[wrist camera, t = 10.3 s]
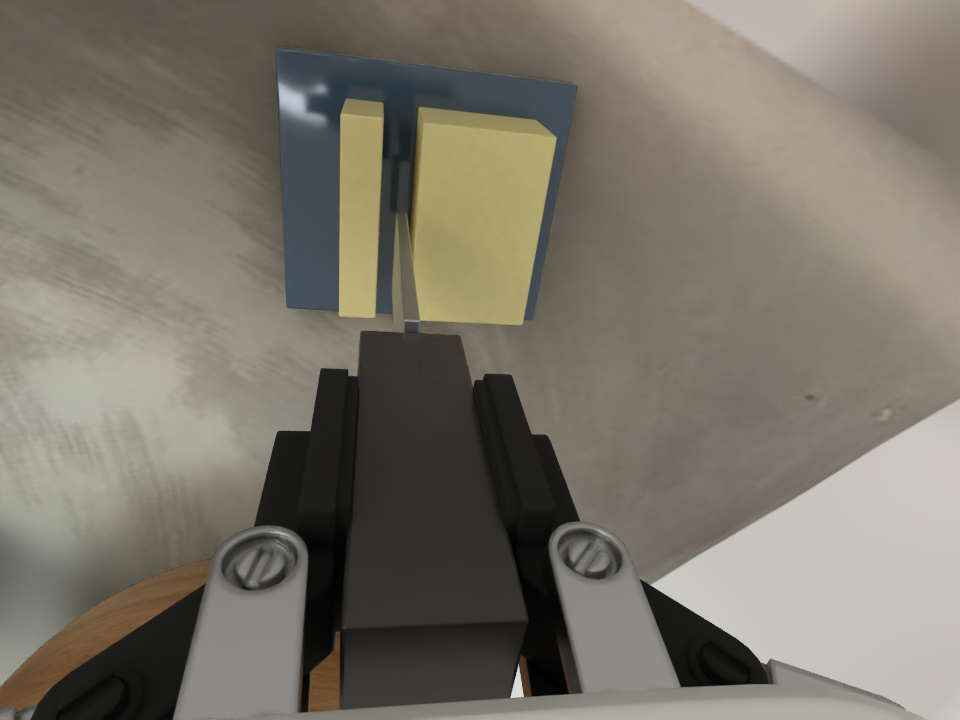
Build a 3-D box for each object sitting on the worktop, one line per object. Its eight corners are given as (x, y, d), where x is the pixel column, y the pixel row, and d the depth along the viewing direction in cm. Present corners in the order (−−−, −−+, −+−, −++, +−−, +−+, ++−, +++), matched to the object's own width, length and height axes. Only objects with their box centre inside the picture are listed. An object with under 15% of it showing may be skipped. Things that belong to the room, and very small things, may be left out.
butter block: (418, 106, 24) (423, 122, 21) (537, 119, 25) (557, 136, 22) (406, 286, 28) (408, 320, 25) (508, 292, 29) (522, 326, 26)
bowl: (353, 729, 50) (344, 984, 37) (12, 667, 40) (-160, 984, 27) (526, 536, 40) (592, 789, 27) (133, 394, 30) (-45, 683, 18)
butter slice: (345, 98, 24) (340, 113, 21) (383, 102, 24) (383, 117, 21) (343, 282, 28) (338, 317, 25) (375, 284, 28) (375, 319, 25)
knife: (368, 209, 22) (339, 612, 7) (434, 214, 22) (535, 605, 8) (365, 286, 23) (338, 752, 9) (427, 289, 24) (501, 738, 9)
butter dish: (279, 44, 23) (275, 47, 23) (572, 82, 26) (578, 85, 25) (289, 299, 29) (286, 308, 28) (528, 312, 31) (533, 320, 30)
